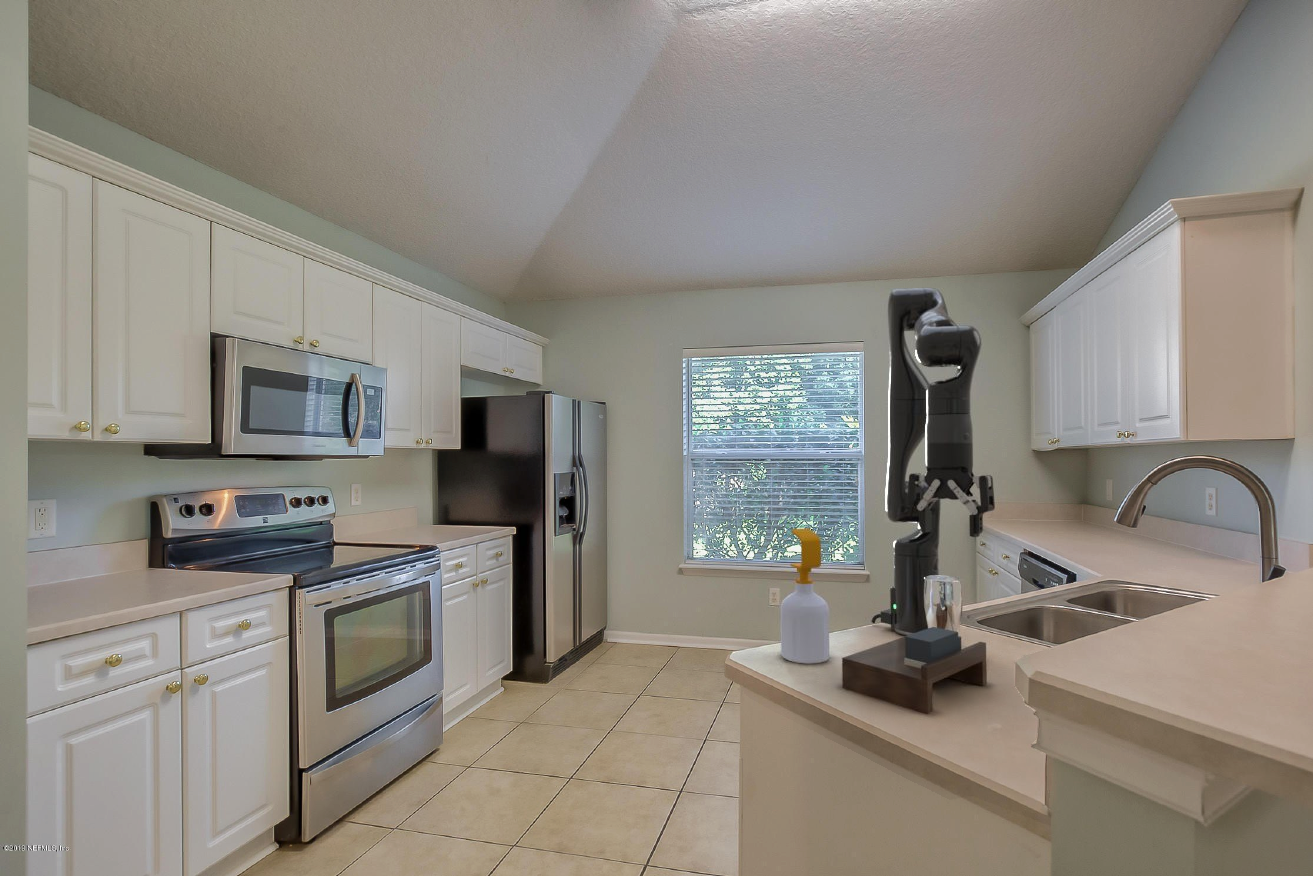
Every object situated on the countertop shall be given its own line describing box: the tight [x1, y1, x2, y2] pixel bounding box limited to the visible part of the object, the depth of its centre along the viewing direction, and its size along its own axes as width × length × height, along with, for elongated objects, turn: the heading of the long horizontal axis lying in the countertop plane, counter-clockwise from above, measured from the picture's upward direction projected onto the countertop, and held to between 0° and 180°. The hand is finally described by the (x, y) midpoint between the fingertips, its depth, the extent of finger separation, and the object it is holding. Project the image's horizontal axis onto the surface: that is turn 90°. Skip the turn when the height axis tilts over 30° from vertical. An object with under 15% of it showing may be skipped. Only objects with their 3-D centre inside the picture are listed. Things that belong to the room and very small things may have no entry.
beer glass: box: [924, 574, 964, 636], centre depth 128 cm, size 7×7×15 cm
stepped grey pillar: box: [904, 627, 962, 668], centre depth 109 cm, size 11×4×4 cm, turn 130°
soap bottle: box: [780, 528, 830, 665], centre depth 128 cm, size 9×9×25 cm
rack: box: [841, 636, 988, 715], centre depth 111 cm, size 15×20×7 cm
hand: (949, 534), depth 115 cm, fingers open, 8 cm apart
